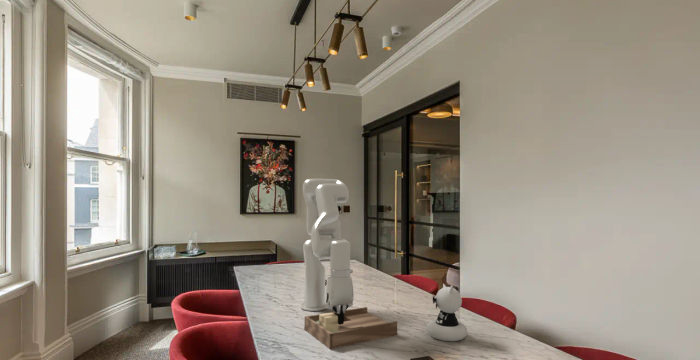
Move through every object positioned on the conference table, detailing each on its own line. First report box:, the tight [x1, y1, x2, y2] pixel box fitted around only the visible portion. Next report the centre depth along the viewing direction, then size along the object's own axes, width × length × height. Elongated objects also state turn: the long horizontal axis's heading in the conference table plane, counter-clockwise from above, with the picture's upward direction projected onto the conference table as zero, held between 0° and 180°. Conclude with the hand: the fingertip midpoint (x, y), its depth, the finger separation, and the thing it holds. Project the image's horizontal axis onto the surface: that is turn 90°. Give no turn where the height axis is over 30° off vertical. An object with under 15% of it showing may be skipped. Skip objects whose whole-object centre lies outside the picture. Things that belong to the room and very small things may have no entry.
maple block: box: [319, 312, 338, 331], centre depth 141 cm, size 5×5×5 cm
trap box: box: [303, 306, 398, 350], centre depth 146 cm, size 22×28×5 cm
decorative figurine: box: [426, 282, 468, 342], centre depth 144 cm, size 15×15×20 cm
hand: (339, 323), depth 144 cm, fingers closed
